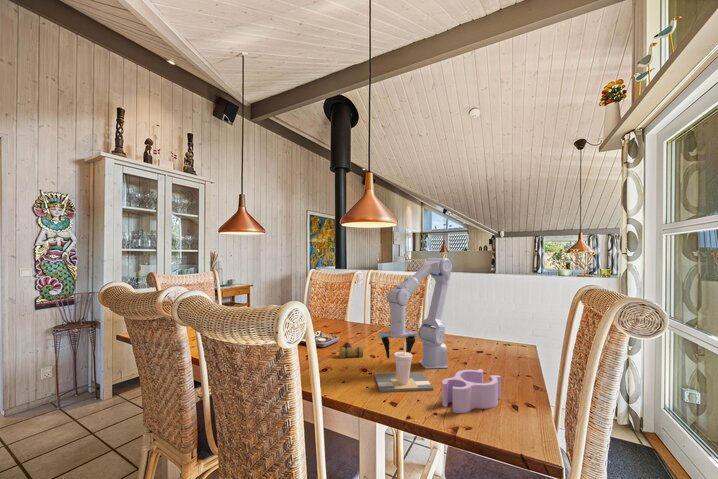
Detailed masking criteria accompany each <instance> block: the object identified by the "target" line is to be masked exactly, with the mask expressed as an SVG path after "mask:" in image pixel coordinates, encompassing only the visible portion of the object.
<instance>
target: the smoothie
mask: <svg viewBox="0 0 718 479" xmlns="http://www.w3.org/2000/svg"><path fill="white" fill-rule="evenodd" d="M393 358H394V363H395V370H396V372H395V373H397V380H398V384H401V385H407V384H408V383H409V375H410V372H411V366H412V359H413V354H412V353H411V352H410V353H408V352H406V341H403V351H396V352H394V353H393Z"/></svg>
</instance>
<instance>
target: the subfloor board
mask: <svg viewBox="0 0 718 479" xmlns="http://www.w3.org/2000/svg"><path fill="white" fill-rule="evenodd" d="M373 376H374V377H373V378H374V379H375V382H376V385H377V387H378V389H379V392H380V393H393V392H394V393H396V392H397V393H398V392H419V391H420V392H421V391H426V392H427V391H434V386H433V385H432V384H431V382H430V381H429V380H428V378H426V376H425V375H424V374H423V372H422V371H416V372H415V371H413V372H412V371H410V375H409V383H408V384H407V385H401V384H398V380H397V372H389V373H388V372H386V373H385V372H384V373H383V372H382V373H380V372H379V373H373Z"/></svg>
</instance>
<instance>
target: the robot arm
mask: <svg viewBox="0 0 718 479" xmlns="http://www.w3.org/2000/svg"><path fill="white" fill-rule="evenodd" d="M452 269H453V264H452V263H451V261H450V259H449V258H448V257H441V258H440V257H428V258H426V260H424V261H423V264H422V266H421V267H420V268H419V269H418V270H417V271H416V273H414V274H413V276H406V277H404V280H403V281H402V282H401V283H399V284H397V286H396V287H395V288H391V289H390V290H389V291H388V293H387V296H386V300H387V302H388V304H389V305H388V306H389V315H390V316H389V317H390V318H389V319H390V320H389V321H390V326H389V327H390V331H389V330H387V331H381V332H380V331H379V332H378V339H379V340H380V339H381V341H382V344H383V346H384V350H385V355H386V358H387V359H390V343H391V342H390V339H396V338H397V339H399V338H400V339H401V338H404V339H405V342H406V352H408V353H411V352H412V349H413V346H414V344H415V343H416V339H418V338H419V339H420V342H421V343H422V360H419V364H420V365H421V366H422V367H423V368H424V369H426V370H427V369H428V370H429V369H448V349H447V344H445V343H444V341H445V340H446V338H445V335H446V334H445V331H446V330H445V329H446V326H445V325H444V324H443V322H442V318H443V312H444V307H445V303H446V298H447V293H448V289H449V285H450V279H451V275H452V274H451V273H452ZM429 275H430V277H432V278H433V279H434V281H435V282H434V288H433V292H432V298H431V301H430V306H429V309H428V310H429V311H428V315H427V318H425V319H424V320H423V321H421V324H420V326H419V327H418V332H417V331H416V330H415V331H411V330H406V304H407V303H408V302H409V300H410V297H411V295H412V294H413V293H414V292H416V290H418V288H419V283H421V282H422V281H423V280H425V278H427V277H428V276H429Z"/></svg>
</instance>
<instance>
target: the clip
mask: <svg viewBox="0 0 718 479" xmlns="http://www.w3.org/2000/svg"><path fill="white" fill-rule="evenodd" d="M501 377H502V376H501V375H498V374H497V375H496V374H495V375H494V374H492V375H489V382H484V370H483V369H482V368H478V369H477V370H476V369H463V370H459V371H457V372H456V373H455V375H454V376H453V377H447V378H444V379H443V380H442V382H441V383H442V384H441V385H442V388H441V390H442V391H441V392H442V394H441V395H442V399H441V400H442V402H441V403H442V407H444V408H447V407H448V406H449V405H448V404H449V403H452V412H453V413H455V414H456V413H457V414H465V413H469V412H471V411H472V410H473V409H474V410H475V409H484V410H485V409H487V410H488V409H492V408H495V407H497V406H498V404H499V400H501V399H502V378H501Z"/></svg>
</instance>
